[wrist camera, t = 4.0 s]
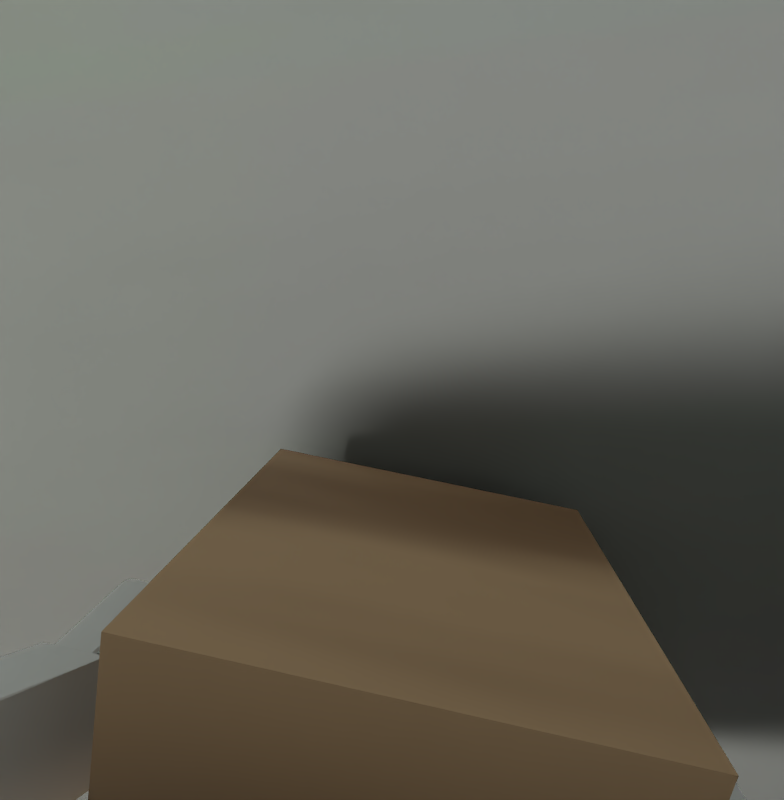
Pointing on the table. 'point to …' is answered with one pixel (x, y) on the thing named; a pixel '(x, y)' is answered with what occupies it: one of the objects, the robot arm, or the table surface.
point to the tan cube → (391, 656)
